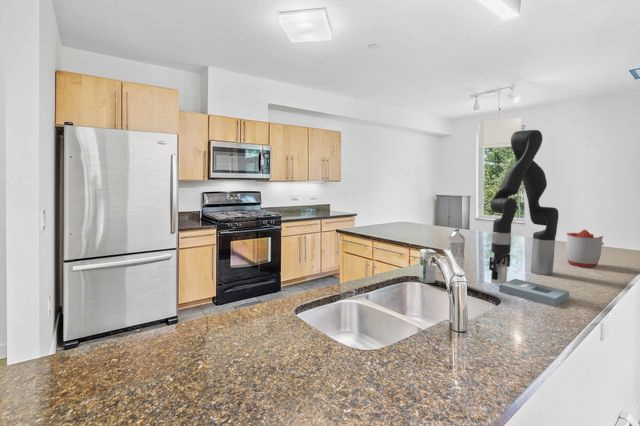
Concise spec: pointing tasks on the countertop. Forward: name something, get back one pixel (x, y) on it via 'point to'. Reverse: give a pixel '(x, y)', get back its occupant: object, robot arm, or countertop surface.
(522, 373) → the countertop surface
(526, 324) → the countertop surface
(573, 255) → the citrus juicer
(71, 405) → the countertop surface
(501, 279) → the charger plug
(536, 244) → the robot arm
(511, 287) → the plate
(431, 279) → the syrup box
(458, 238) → the water bottle
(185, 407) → the countertop surface
